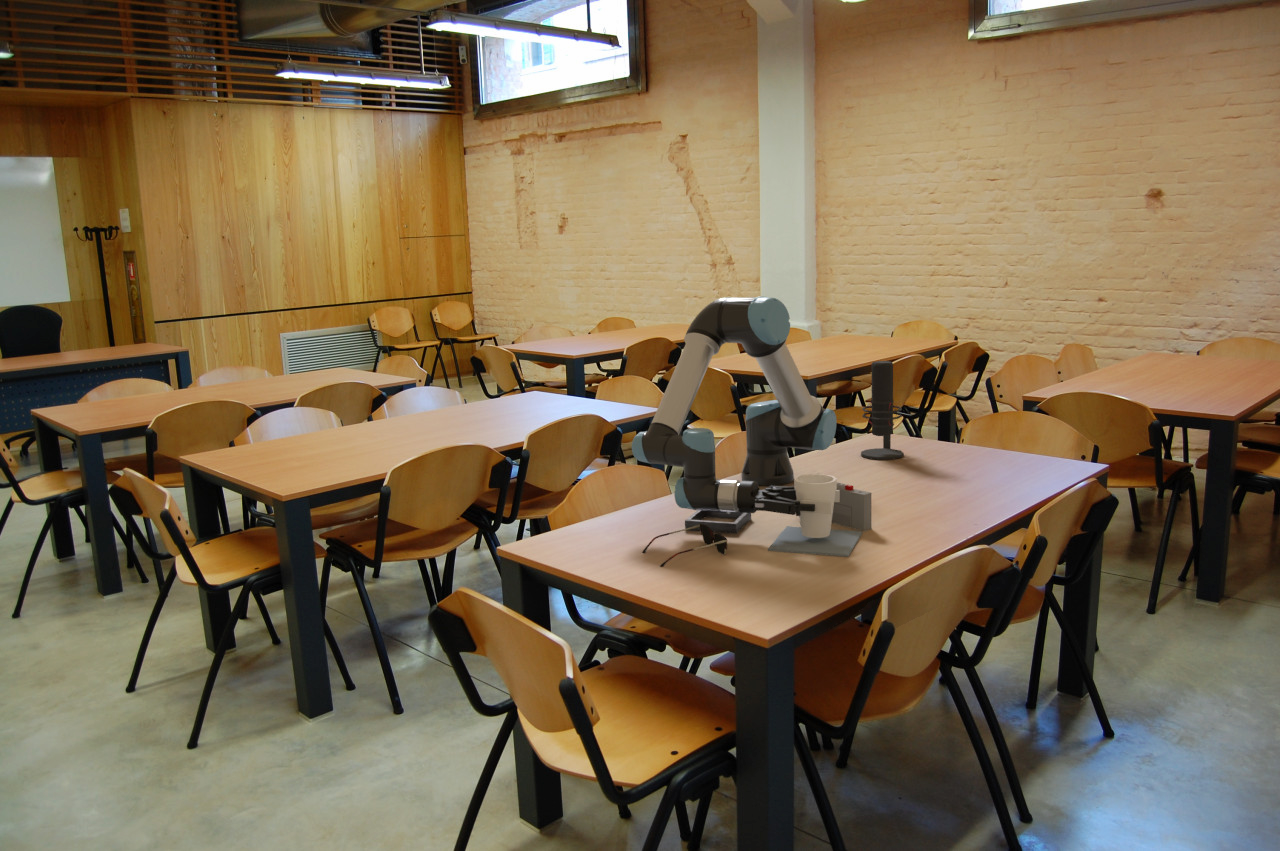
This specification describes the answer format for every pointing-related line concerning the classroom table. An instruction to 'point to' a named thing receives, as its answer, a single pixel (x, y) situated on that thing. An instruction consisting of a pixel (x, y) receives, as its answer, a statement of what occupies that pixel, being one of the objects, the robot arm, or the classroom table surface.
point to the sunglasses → (707, 537)
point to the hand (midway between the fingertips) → (834, 501)
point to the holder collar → (715, 525)
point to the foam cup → (816, 490)
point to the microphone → (882, 411)
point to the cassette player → (852, 508)
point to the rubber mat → (816, 542)
